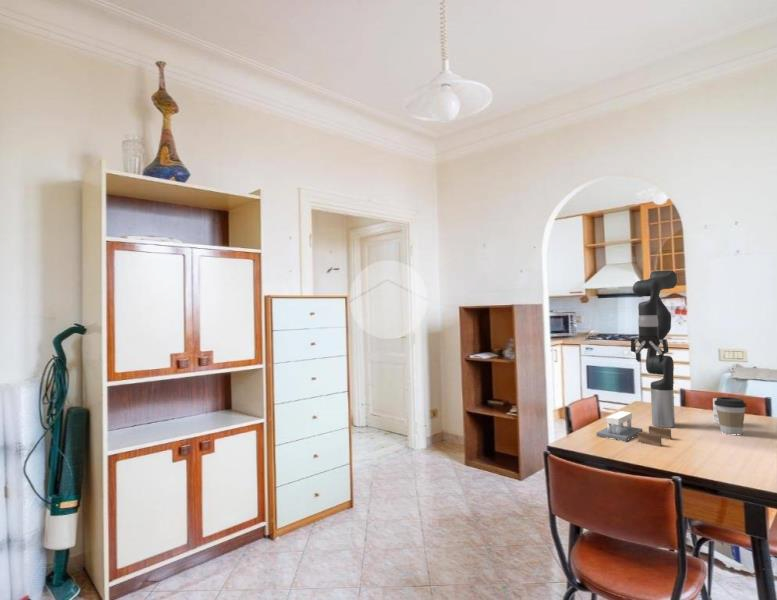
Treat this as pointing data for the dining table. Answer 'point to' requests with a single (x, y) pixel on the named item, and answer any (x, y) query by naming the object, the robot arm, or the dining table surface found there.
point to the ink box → (715, 411)
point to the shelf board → (619, 418)
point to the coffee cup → (730, 414)
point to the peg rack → (619, 431)
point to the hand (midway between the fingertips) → (649, 362)
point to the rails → (654, 435)
